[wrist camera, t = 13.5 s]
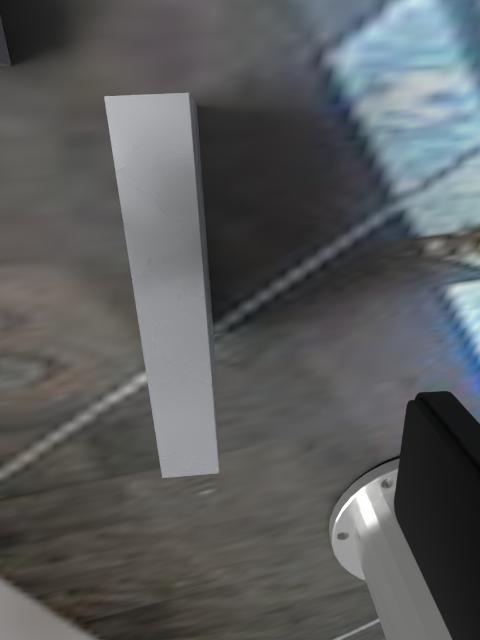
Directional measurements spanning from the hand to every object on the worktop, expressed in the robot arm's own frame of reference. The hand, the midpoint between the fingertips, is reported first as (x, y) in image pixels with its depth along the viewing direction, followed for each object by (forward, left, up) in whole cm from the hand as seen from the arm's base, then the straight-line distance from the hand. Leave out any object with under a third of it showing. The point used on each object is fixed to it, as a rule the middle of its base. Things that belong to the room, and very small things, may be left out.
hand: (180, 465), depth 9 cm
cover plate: (0, -1, -16) cm, 16 cm away
